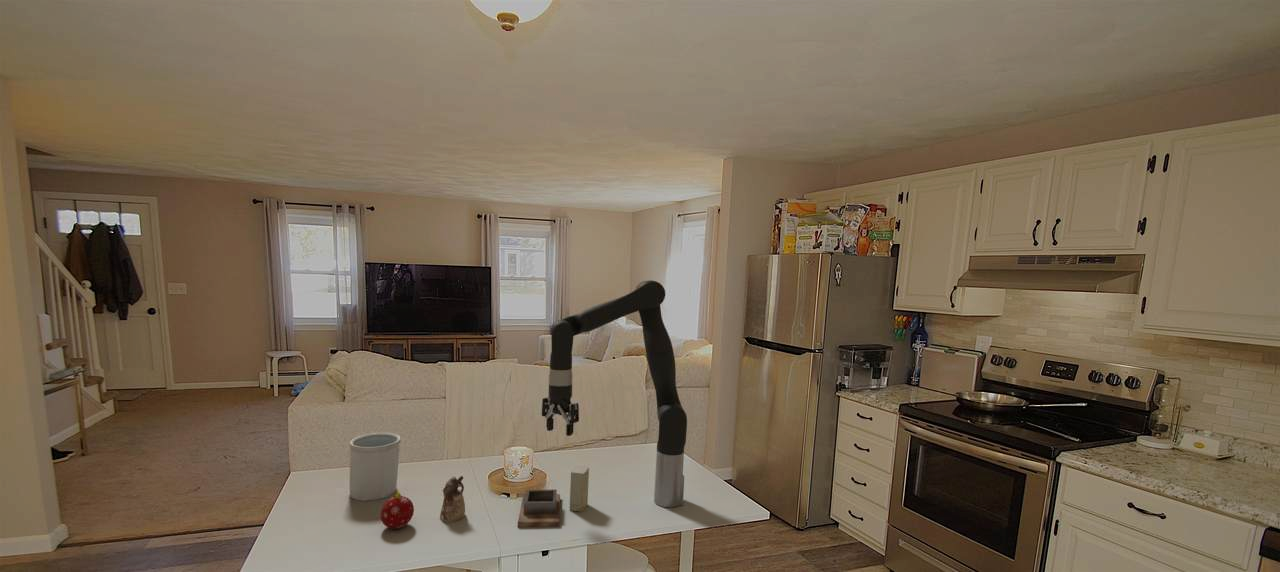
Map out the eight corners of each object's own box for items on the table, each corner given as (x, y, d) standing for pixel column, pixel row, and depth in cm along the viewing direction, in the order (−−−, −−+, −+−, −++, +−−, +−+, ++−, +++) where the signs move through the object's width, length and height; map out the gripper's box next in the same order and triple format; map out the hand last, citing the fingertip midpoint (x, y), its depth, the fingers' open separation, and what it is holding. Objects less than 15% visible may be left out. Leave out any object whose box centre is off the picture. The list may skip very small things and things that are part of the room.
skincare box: (582, 512, 159) (583, 474, 159) (568, 510, 160) (570, 472, 160) (587, 503, 165) (589, 467, 165) (575, 502, 166) (576, 465, 166)
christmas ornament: (382, 537, 139) (384, 501, 138) (377, 524, 146) (379, 490, 145) (416, 529, 144) (417, 494, 144) (409, 517, 151) (411, 484, 150)
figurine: (440, 512, 155) (441, 473, 154) (464, 509, 157) (466, 471, 157) (439, 523, 148) (441, 482, 148) (465, 520, 150) (467, 480, 150)
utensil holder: (396, 499, 162) (399, 444, 162) (343, 504, 157) (346, 448, 156) (399, 481, 176) (402, 431, 176) (351, 485, 170) (353, 434, 170)
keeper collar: (556, 500, 164) (556, 489, 163) (555, 514, 154) (556, 502, 154) (526, 500, 162) (526, 489, 162) (523, 514, 153) (523, 503, 153)
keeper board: (560, 498, 168) (560, 494, 168) (558, 526, 150) (559, 521, 150) (523, 498, 167) (523, 494, 167) (517, 527, 148) (517, 522, 148)
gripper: (585, 383, 161) (584, 434, 161) (553, 377, 169) (552, 426, 169) (568, 387, 155) (567, 440, 155) (536, 381, 163) (535, 431, 163)
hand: (559, 432), depth 162 cm, fingers open, 8 cm apart
